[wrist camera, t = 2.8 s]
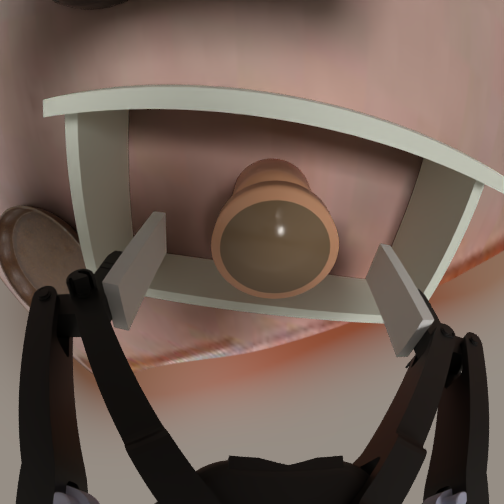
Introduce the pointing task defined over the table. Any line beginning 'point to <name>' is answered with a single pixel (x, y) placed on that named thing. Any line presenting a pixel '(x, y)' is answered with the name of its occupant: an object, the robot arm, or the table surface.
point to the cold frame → (277, 107)
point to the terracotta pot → (274, 233)
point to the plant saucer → (37, 250)
